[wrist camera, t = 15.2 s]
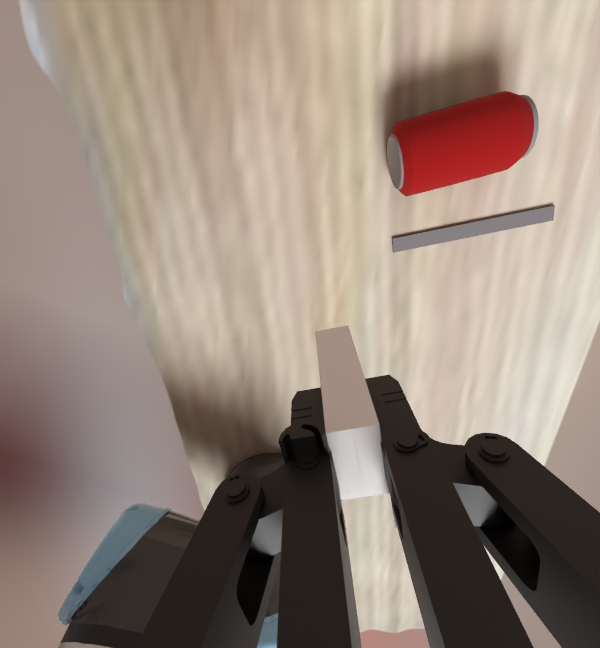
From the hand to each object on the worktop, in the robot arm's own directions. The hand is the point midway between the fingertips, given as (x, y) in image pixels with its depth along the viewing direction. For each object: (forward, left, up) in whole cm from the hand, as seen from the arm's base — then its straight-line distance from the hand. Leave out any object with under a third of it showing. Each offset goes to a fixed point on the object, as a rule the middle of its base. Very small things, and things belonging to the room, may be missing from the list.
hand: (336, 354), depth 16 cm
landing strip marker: (+18, -2, -26) cm, 32 cm away
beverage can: (+9, +7, -23) cm, 25 cm away
